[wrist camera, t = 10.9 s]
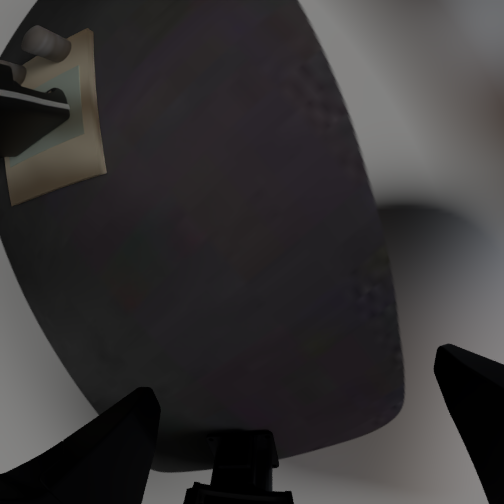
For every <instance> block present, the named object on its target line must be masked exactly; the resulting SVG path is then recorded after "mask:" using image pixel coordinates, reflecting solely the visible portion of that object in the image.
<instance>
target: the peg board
mask: <svg viewBox="0 0 504 504" xmlns="http://www.w3.org/2000/svg"><path fill="white" fill-rule="evenodd" d="M21 48H22V50H23V51H26V52H29V53H32V54H34V55H37V56H36V57H34V58H33V59H31V60H30V61H28V62H27V63H25V64H24V65H22V66H21V65H17V64H14V63H10V62H6V61H3V60H0V63H1V64H4V65H8V66H10V67H11V69H12V73H13V80H14V81H16V82H17V83H18V84H20V85H21V86H22V87H26V88H29V89H33V90H36V91H39V92H44V93H45V92H47V91H48V90H50V89H51V88H59V89H61V90H62V91H63V92H64V94H65V96H66V98H67V103H68V105H69V106H70V111H69V112H70V117H69V119H68V120H66V121H65V122H63V123H62V124H61V125H59V126H58V127H56V128H55V129H53V130H52V131H51V132H49V133H48V134H46V135H45V136H44V137H42V138H41V139H40V140H38V141H37V142H35V143H34V144H33V145H31V146H30V147H29V148H27V149H26V150H25V151H23V152H22V153H21V154H20V155H18V156H16V157H4V158H5V167H6V175H7V182H8V188H9V194H10V200H11V205H12V206H14V205H18V204H21V203H23V202H26V201H28V200H31V199H34V198H36V197H39V196H41V195H44V194H47V193H49V192H52V191H55V190H58V189H60V188H63V187H66V186H69V185H72V184H75V183H78V182H81V181H84V180H87V179H90V178H93V177H96V176H99V175H103V174H106V173H107V171H106V165H105V159H104V153H103V146H102V139H101V132H100V124H99V115H98V106H97V95H96V83H95V68H94V42H93V32H92V31H91V30H89V29H88V28H87V29H85V30H83V31H81V32H79V33H77V34H75V35H73V36H71V37H69V38H67V39H65V38H63V37H61V36H59V35H57V34H55V33H53V32H51V31H49V30H47V29H45V28H43V27H41V26H34V27H32V28H31V29H30V30H29V31H28V32H27V33H26V34H25V36H24V38H23V40H22V44H21Z"/></svg>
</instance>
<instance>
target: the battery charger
mask: <svg viewBox="0 0 504 504" xmlns="http://www.w3.org/2000/svg"><path fill="white" fill-rule="evenodd" d="M69 111H70V106H69V105H68V103H67V98H66V96H65V94H64V92H63V91H62V90H61V89H59V88H51V89H50V90H48V91H47V92H45V93H44V92H39V91H36V90H33V89H29V88H26V87H22V86H21V85H20V84H18V83H17V82H16V81H14V80H13V73H12V69H11V67H10V66H8V65H4V64H1V63H0V157H16V156H18V155H20V154H21V153H22V152H23V151H25V150H26V149H27V148H29V147H30V146H31V145H33V144H34V143H35V142H37V141H38V140H40V139H41V138H42V137H44V136H45V135H46V134H48V133H49V132H51V131H52V130H53V129H55V128H56V127H58V126H59V125H61V124H62V123H63V122H65V121H66V120H68V119H69V117H70V112H69Z"/></svg>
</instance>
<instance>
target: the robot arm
mask: <svg viewBox="0 0 504 504" xmlns="http://www.w3.org/2000/svg"><path fill="white" fill-rule="evenodd" d="M434 374H435V376H436V379H437V381H438V384H439V387H440V389H441V392H442V394H443V397H444V400H445V403H446V405H447V408H448V410H449V413H450V415H451V417H452V419H453V421H454V423H455V425H456V427H457V429H458V431H459V433H460V435H461V438H462V440H463V442H464V444H465V446H466V449H467V451H468V453H469V455H470V458H471V460H472V462H473V464H474V467H475V469H476V472H477V474H478V476H479V479H480V481H481V484H482V486H483V489H484V492H485V494H486V497H487V500H488V502H489V504H504V365H503V364H501V363H498V362H496V361H493V360H490V359H488V358H485V357H483V356H480V355H478V354H475V353H472V352H470V351H467V350H465V349H462V348H460V347H457V346H455V345H452V344H445V345H442V346H440V347H438V349H437V353H436V358H435V363H434ZM160 413H161V409H160V405H159V402H158V400H157V398H156V396H155V394H154V392H153V390H152V389H151V388H150V387H138V388H137V389H135V390H134V391H133V392H131V393H130V394H129V395H127V396H126V397H124V398H123V399H122V400H120V401H119V402H117V403H116V404H115V405H113V406H112V407H110V408H109V409H108V410H106V411H105V412H103V413H102V414H101V415H99V416H98V417H96V418H95V419H93V420H92V421H91V422H89V423H88V424H86V425H85V426H83V427H82V428H80V429H79V430H77V431H76V432H75V433H73V434H72V435H70V436H69V437H67V438H66V439H64V441H61V442H60V443H58V444H57V445H55V446H54V447H52V448H50V449H49V450H47V451H46V452H44V453H43V454H41V455H39V456H37V457H35V458H33V459H32V460H30V461H28V462H26V463H24V464H22V465H20V466H18V467H16V468H14V469H12V470H10V471H8V472H6V473H3V474H0V504H141V503H142V499H143V495H144V491H145V487H146V483H147V479H148V475H149V471H150V468H151V464H152V460H153V456H154V452H155V447H156V440H157V433H158V426H159V420H160ZM206 440H207V443H208V445H209V447H210V449H211V452H212V454H213V456H214V458H215V460H214V466H213V472H212V478H211V484H210V485H206V484H200V483H199V482H194V485H193V487H192V488H189V489H187V491H186V495H185V500H184V503H183V504H294V502H293V497H292V492H291V491H285V492H275V491H272V468H277V467H279V461H278V456H277V452H276V447H275V442H274V437H273V433H272V432H270V431H261V432H248V433H228V434H208V435H207V437H206Z"/></svg>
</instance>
